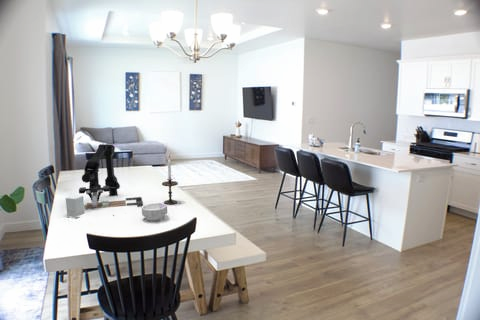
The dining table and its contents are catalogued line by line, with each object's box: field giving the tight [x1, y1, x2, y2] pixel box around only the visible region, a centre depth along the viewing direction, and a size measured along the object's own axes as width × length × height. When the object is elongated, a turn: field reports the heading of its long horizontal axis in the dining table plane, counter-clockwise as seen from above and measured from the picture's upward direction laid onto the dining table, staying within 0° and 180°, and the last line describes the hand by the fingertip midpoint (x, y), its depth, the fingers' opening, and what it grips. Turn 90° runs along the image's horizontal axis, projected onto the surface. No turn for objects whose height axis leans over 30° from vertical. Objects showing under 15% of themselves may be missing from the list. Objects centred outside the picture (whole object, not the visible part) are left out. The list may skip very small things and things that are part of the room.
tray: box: [125, 196, 144, 208], centre depth 251 cm, size 14×11×3 cm
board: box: [85, 199, 127, 210], centre depth 245 cm, size 14×25×2 cm, turn 109°
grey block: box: [91, 192, 99, 209], centre depth 242 cm, size 10×3×9 cm, turn 19°
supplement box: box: [65, 194, 86, 220], centre depth 224 cm, size 7×7×13 cm
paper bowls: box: [141, 202, 168, 222], centre depth 221 cm, size 15×15×8 cm
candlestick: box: [161, 154, 179, 206], centre depth 252 cm, size 11×11×35 cm
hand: (95, 201), depth 243 cm, fingers closed on grey block, 3 cm apart
